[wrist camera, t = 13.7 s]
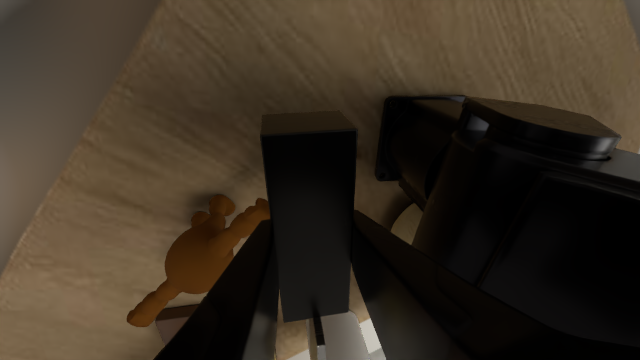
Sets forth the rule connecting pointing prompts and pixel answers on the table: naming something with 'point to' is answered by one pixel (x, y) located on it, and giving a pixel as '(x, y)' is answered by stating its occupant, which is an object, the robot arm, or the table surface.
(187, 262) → the toy figurine
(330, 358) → the eye dropper bottle
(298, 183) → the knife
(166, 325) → the board
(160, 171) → the table surface
